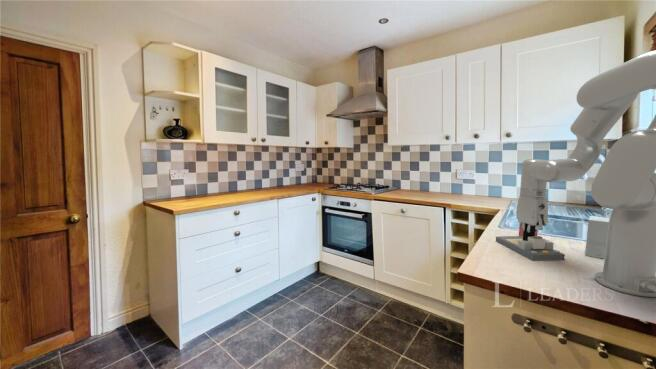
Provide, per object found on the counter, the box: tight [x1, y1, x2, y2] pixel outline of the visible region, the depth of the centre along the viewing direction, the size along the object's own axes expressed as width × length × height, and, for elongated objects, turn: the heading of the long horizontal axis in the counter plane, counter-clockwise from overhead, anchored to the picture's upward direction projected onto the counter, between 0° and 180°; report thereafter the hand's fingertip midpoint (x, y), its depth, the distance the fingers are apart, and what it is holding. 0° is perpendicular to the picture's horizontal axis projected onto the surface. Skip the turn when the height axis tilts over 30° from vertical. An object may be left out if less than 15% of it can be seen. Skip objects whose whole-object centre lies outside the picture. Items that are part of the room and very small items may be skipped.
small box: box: [584, 215, 610, 260], centre depth 97 cm, size 8×6×13 cm
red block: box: [518, 223, 539, 236], centre depth 116 cm, size 4×4×6 cm
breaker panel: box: [495, 235, 566, 262], centre depth 103 cm, size 20×11×4 cm, turn 1°
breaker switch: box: [528, 235, 546, 249], centre depth 98 cm, size 3×4×4 cm
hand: (528, 241), depth 102 cm, fingers closed
